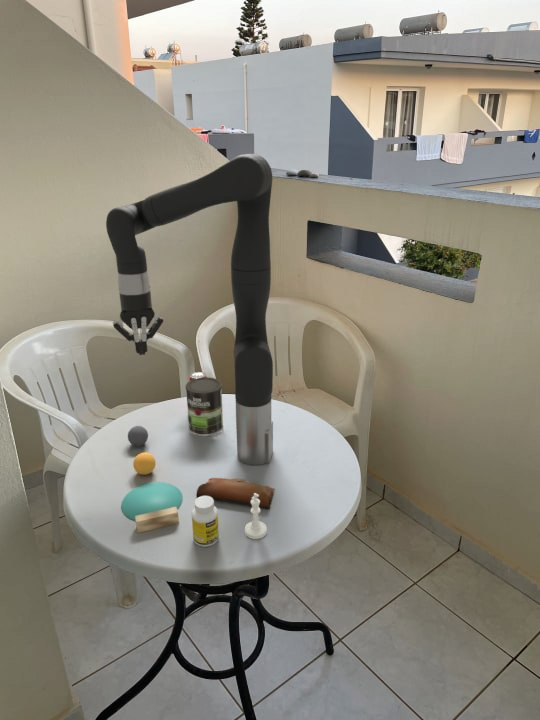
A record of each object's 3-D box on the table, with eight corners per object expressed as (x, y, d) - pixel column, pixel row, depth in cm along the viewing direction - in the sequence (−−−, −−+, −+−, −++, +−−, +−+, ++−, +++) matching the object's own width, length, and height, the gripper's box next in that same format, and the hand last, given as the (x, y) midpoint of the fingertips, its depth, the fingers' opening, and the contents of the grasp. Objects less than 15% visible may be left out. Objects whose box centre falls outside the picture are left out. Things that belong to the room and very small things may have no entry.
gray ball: (152, 439, 143) (150, 423, 141) (144, 450, 138) (142, 433, 136) (133, 438, 144) (131, 421, 142) (125, 448, 139) (123, 431, 137)
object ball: (159, 467, 131) (157, 449, 129) (151, 480, 126) (149, 461, 124) (139, 465, 132) (137, 447, 130) (131, 477, 127) (128, 459, 125)
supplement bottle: (208, 551, 104) (205, 513, 101) (188, 541, 107) (185, 504, 103) (224, 535, 109) (222, 498, 105) (204, 526, 111) (201, 490, 107)
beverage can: (207, 413, 157) (205, 379, 152) (190, 413, 157) (188, 378, 152) (209, 405, 162) (207, 371, 157) (193, 405, 162) (190, 371, 157)
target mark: (190, 486, 124) (190, 485, 124) (170, 525, 112) (170, 524, 111) (136, 480, 126) (136, 479, 126) (111, 517, 114) (110, 517, 114)
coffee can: (215, 439, 144) (213, 395, 138) (182, 433, 147) (179, 390, 141) (228, 421, 153) (227, 379, 147) (197, 416, 156) (194, 375, 150)
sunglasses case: (277, 487, 124) (274, 476, 118) (272, 515, 120) (268, 505, 114) (207, 477, 127) (201, 466, 122) (200, 504, 123) (193, 494, 118)
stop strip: (177, 517, 114) (176, 506, 113) (178, 522, 112) (177, 512, 111) (136, 526, 111) (135, 516, 110) (137, 532, 109) (136, 522, 108)
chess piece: (271, 530, 110) (271, 493, 106) (255, 542, 107) (255, 504, 103) (255, 519, 113) (255, 483, 109) (239, 531, 110) (238, 494, 106)
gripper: (159, 283, 131) (164, 345, 137) (105, 288, 126) (114, 352, 133) (164, 290, 124) (169, 355, 131) (107, 296, 120) (116, 362, 127)
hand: (141, 353), depth 132 cm, fingers closed
